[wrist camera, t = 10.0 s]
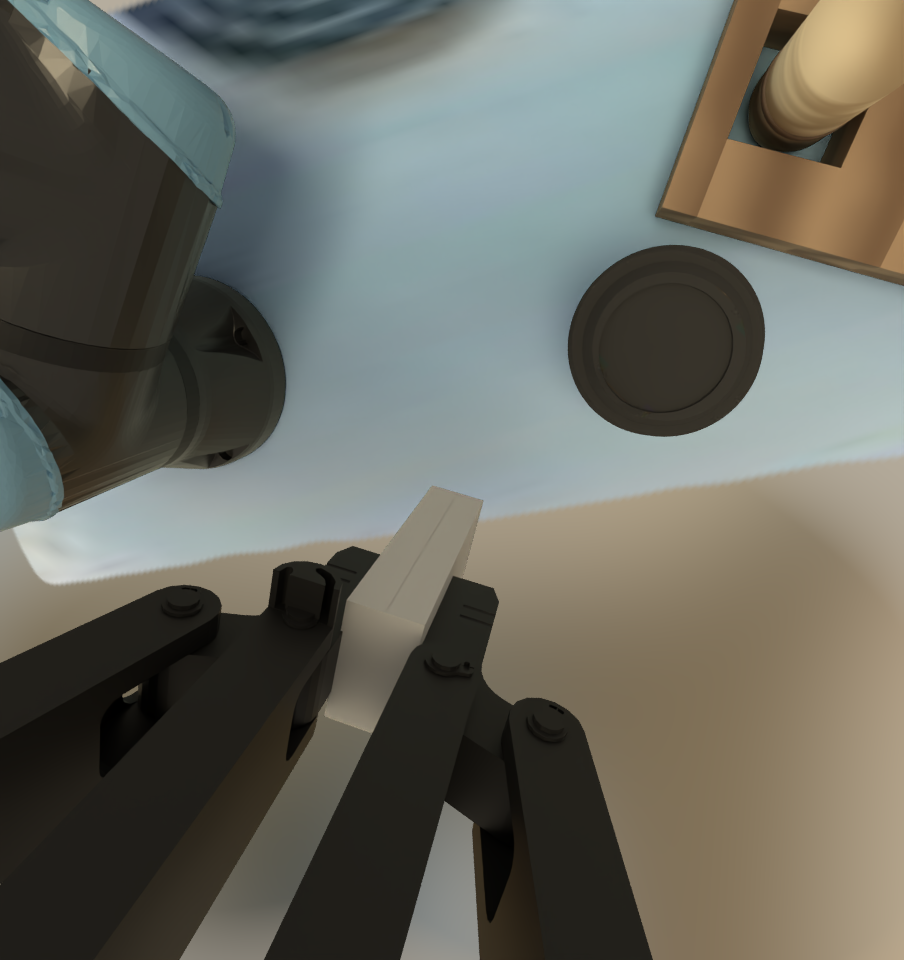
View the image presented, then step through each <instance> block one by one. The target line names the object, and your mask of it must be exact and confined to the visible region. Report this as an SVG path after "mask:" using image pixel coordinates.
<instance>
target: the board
mask: <svg viewBox="0 0 904 960" xmlns="http://www.w3.org/2000/svg"><path fill="white" fill-rule="evenodd" d="M819 1H820V0H734V2H733V5H732V7H731V10H730V13H729V15H728V18H727V21H726V24H725V26H724V29H723V32H722V35H721V37H720V40H719V43H718V46H717V48H716V51H715V54H714V56H713V59H712V62H711V65H710V67H709V70H708V73H707V76H706V78H705V81H704V84H703V87H702V89H701V92H700V95H699V98H698V100H697V103H696V106H695V108H694V111H693V114H692V117H691V119H690V122H689V125H688V128H687V130H686V133H685V136H684V139H683V141H682V144H681V147H680V150H679V152H678V155H677V158H676V160H675V163H674V166H673V169H672V171H671V174H670V177H669V180H668V182H667V185H666V188H665V191H664V193H663V196H662V199H661V201H660V204H659V207H658V210H657V212H656V215H655V216H656V217H659V218H663V219H666V220H670V221H673V222H677V223H681V224H684V225H688V226H691V227H695V228H698V229H702V230H706V231H709V232H713V233H716V234H720V235H724V236H727V237H731V238H734V239H738V240H741V241H745V242H749V243H752V244H756V245H759V246H763V247H766V248H770V249H774V250H777V251H781V252H784V253H788V254H791V255H795V256H799V257H802V258H806V259H809V260H813V261H817V262H820V263H824V264H827V265H831V266H834V267H838V268H842V269H845V270H849V271H852V272H856V273H859V274H863V275H867V276H870V277H874V278H877V279H881V280H884V281H888V282H892V283H895V284H899V285H902V286H904V84H902V85H901V86H900V87H899V88H897V89H896V90H894V91H893V92H891V93H890V94H888V95H887V96H885V97H884V98H882V99H881V100H879V101H878V102H876V103H875V104H873V105H872V106H870V107H869V108H867V109H866V110H864V111H863V112H861V113H860V114H858V115H857V116H855V117H854V118H852V119H851V120H850V121H849V122H847V123H846V124H845V125H844V126H842V127H841V128H839V129H837V130H836V131H834V132H833V134H832V137H831V139H830V141H829V143H828V146H827V148H826V150H825V152H824V155H823V157H822V159H821V161H820V163H819V162H815V161H811V160H808V159H804V158H800V157H796V156H792V155H788V154H784V153H781V152H777V151H773V150H769V149H765V148H761V147H757V146H754V145H750V144H746V143H742V142H738V141H734V140H730V139H727V138H728V136H729V133H730V131H731V128H732V126H733V123H734V120H735V118H736V115H737V113H738V110H739V108H740V105H741V102H742V100H743V97H744V95H745V92H746V90H747V87H748V84H749V82H750V79H751V77H752V74H753V72H754V69H755V66H756V64H757V61H758V59H759V56H760V54H761V51H762V48H763V46H764V47H768V48H772V49H776V50H781V49H782V48H783V47H784V46H785V45H786V44H787V43H788V41H789V40H790V39H791V37H792V36H793V35H794V33H795V32H796V31H797V30H798V28H799V27H800V26H801V24H802V23H803V22H804V20H805V19H806V18H807V16H808V15H809V14H810V12H811V11H812V10H813V9H814V7H815V6H816V5H817V3H818V2H819Z"/></svg>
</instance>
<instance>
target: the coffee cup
mask: <svg viewBox="0 0 904 960" xmlns="http://www.w3.org/2000/svg"><path fill="white" fill-rule="evenodd" d="M764 341H765V325H764V317H763V312H762V309H761V305H760V302H759V300H758V297H757V295H756V293H755V291H754V289H753V288H752V286H751V285H750V283H749V282H748V280H747V279H746V278H745V277H744V275H743V274H742V273H741V272H740V271H739V270H738V269H737V268H736V267H734V266H733V265H732V264H731V263H729V262H728V261H726V260H725V259H723V258H722V257H720V256H718V255H716V254H714V253H712V252H709V251H706V250H703V249H700V248H696V247H691V246H683V245H665V246H657V247H652V248H648V249H644V250H641V251H638V252H636V253H633V254H631V255H629V256H627V257H625V258H623V259H621V260H619V261H618V262H616V263H615V264H613V265H612V266H610V267H609V268H608V269H607V270H605V271H604V272H603V273H602V274H601V275H600V276H599V277H598V278H597V279H596V280H595V281H594V282H593V283H592V284H591V286H590V287H589V288H588V290H587V291H586V292H585V294H584V295H583V297H582V299H581V301H580V302H579V304H578V306H577V309H576V311H575V313H574V316H573V319H572V322H571V326H570V331H569V337H568V359H569V365H570V370H571V373H572V376H573V379H574V382H575V384H576V386H577V388H578V390H579V392H580V394H581V395H582V397H583V398H584V400H585V401H586V402H587V403H588V405H589V406H590V407H591V408H592V409H593V410H594V411H595V412H596V413H597V414H598V415H600V416H601V417H602V418H604V419H605V420H606V421H608V422H610V423H611V424H613V425H615V426H617V427H619V428H621V429H624V430H626V431H630V432H633V433H637V434H642V435H650V436H662V437H667V436H678V435H684V434H689V433H692V432H696V431H698V430H701V429H703V428H706V427H708V426H710V425H712V424H714V423H715V422H717V421H719V420H720V419H722V418H723V417H724V416H726V415H727V414H728V413H729V412H731V411H732V410H733V409H734V408H735V407H736V406H737V405H738V404H739V403H740V402H741V400H742V399H743V398H744V397H745V395H746V394H747V392H748V391H749V389H750V388H751V386H752V384H753V382H754V380H755V378H756V376H757V373H758V370H759V367H760V364H761V360H762V355H763V349H764Z"/></svg>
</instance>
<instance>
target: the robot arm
mask: <svg viewBox="0 0 904 960" xmlns="http://www.w3.org/2000/svg"><path fill="white" fill-rule="evenodd" d="M235 137H236V132H235V125H234V121H233V118H232V115H231V113H230V111H229V109H228V107H227V106H226V104H225V103H224V101H223V100H222V99H221V98H220V97H219V96H218V95H217V94H216V93H215V92H214V91H213V90H211V89H210V88H209V87H208V86H206V85H205V84H204V83H202V82H201V81H200V80H198V79H197V78H196V77H194V76H193V75H192V74H190V73H189V72H188V71H186V70H185V69H184V68H182V67H181V66H179V65H178V64H177V63H175V62H174V61H173V60H171V59H170V58H168V57H167V56H166V55H164V54H163V53H162V52H160V51H159V50H157V49H156V48H155V47H153V46H152V45H150V44H149V43H148V42H146V41H145V40H144V39H142V38H141V37H139V36H138V35H137V34H135V33H134V32H132V31H131V30H130V29H128V28H127V27H125V26H124V25H123V24H121V23H120V22H118V21H117V20H115V19H114V18H113V17H111V16H110V15H108V14H107V13H106V12H104V11H103V10H101V9H100V8H99V7H97V6H96V5H94V4H93V3H91V2H90V1H89V0H0V532H1V531H4V530H7V529H10V528H13V527H16V526H19V525H22V524H25V523H28V522H31V521H43V520H46V519H49V518H51V517H53V516H54V515H56V513H58V512H60V511H62V510H64V509H67V508H69V507H71V506H74V505H76V504H78V503H81V502H83V501H85V500H87V499H90V498H92V497H94V496H97V495H99V494H101V493H104V492H106V491H108V490H111V489H113V488H115V487H117V486H120V485H122V484H124V483H127V482H129V481H131V480H134V479H136V478H138V477H140V476H143V475H145V474H147V473H150V472H152V471H154V470H157V469H159V468H186V469H209V468H215V467H220V466H224V465H227V464H229V463H232V462H234V461H236V460H238V459H240V458H242V457H244V456H246V455H248V454H250V453H252V452H253V451H255V450H256V449H257V448H259V447H260V446H261V445H262V444H263V443H264V442H265V441H266V440H267V438H268V437H269V436H270V434H271V433H272V432H273V430H274V428H275V426H276V424H277V422H278V420H279V417H280V415H281V412H282V408H283V404H284V397H285V372H284V365H283V360H282V356H281V353H280V350H279V347H278V344H277V342H276V339H275V337H274V335H273V333H272V331H271V329H270V328H269V326H268V324H267V323H266V321H265V320H264V318H263V317H262V316H261V314H260V313H259V312H258V311H257V309H256V308H255V307H254V306H253V305H252V304H251V303H250V302H249V301H248V300H247V299H246V298H245V297H243V296H242V295H241V294H239V293H238V292H237V291H235V290H234V289H232V288H231V287H229V286H227V285H225V284H223V283H221V282H219V281H216V280H213V279H210V278H206V277H202V276H194V273H195V270H196V267H197V264H198V262H199V259H200V256H201V253H202V250H203V247H204V244H205V242H206V239H207V236H208V233H209V230H210V227H211V224H212V221H213V219H214V216H215V213H216V210H217V207H218V208H221V206H222V203H223V202H222V196H221V191H222V187H223V184H224V180H225V177H226V173H227V170H228V166H229V163H230V159H231V156H232V152H233V149H234V145H235ZM482 504H483V500H480V499H476V498H473V497H469V496H466V495H463V494H459V493H456V492H452V491H449V490H446V489H442V488H439V487H435V486H432V487H431V488H430V489H429V491H428V492H427V493H426V495H425V496H424V497H423V499H422V500H421V501H420V503H419V504H418V505H417V507H416V508H415V509H414V511H413V512H412V513H411V515H410V516H409V517H408V519H407V520H406V521H405V523H404V524H403V525H402V527H401V528H400V529H399V531H398V532H397V533H396V535H395V536H394V537H393V539H392V540H391V541H390V543H389V544H388V545H387V547H386V548H385V549H384V551H383V552H382V554H381V555H380V554H377V553H373V552H370V551H367V550H364V549H361V548H358V547H354V546H352V547H350V548H347V549H344V550H342V551H340V552H337V553H336V554H335V555H334V556H333V557H332V558H331V559H330V560H329V561H328V563H327V565H325V566H324V565H322V564H318V563H313V562H305V561H303V562H302V561H301V562H299V561H296V562H295V561H294V562H290V563H285V564H282V565H280V566H278V567H277V568H275V569H273V576H272V583H271V591H270V598H269V605H268V608H266V609H265V611H264V612H263V613H262V614H261V615H257V616H251V615H237V614H228V613H221V607H222V605H221V602H220V599H219V597H217V595H215V594H214V593H213V592H212V591H210V590H207V589H204V588H201V587H197V586H191V585H180V586H170V587H166V588H163V589H160V590H157V591H155V592H153V593H151V594H148V595H146V596H144V597H142V598H140V599H137V600H135V601H133V602H131V603H129V604H127V605H125V606H123V607H120V608H118V609H116V610H114V611H112V612H110V613H107V614H105V615H103V616H101V617H99V618H96V619H94V620H92V621H90V622H88V623H86V624H84V625H81V626H79V627H77V628H75V629H73V630H71V631H68V632H66V633H64V634H62V635H60V636H58V637H55V638H53V639H51V640H49V641H47V642H45V643H42V644H40V645H38V646H36V647H34V648H32V649H30V650H27V651H25V652H23V653H21V654H19V655H17V656H15V657H12V658H10V659H8V660H6V661H4V662H1V663H0V960H179V959H180V958H181V956H182V954H183V953H184V951H185V949H186V948H187V946H188V944H189V943H190V941H191V939H192V938H193V936H194V934H195V933H196V930H197V929H198V927H199V926H200V924H201V922H202V921H203V919H204V917H205V916H206V914H207V912H208V911H209V909H210V907H211V906H212V904H213V902H214V901H215V899H216V897H217V896H218V894H219V892H220V891H221V889H222V887H223V885H224V884H225V882H226V880H227V879H228V877H229V875H230V874H231V872H232V870H233V869H234V867H235V865H236V864H237V862H238V860H239V859H240V857H241V855H242V854H243V852H244V850H245V849H246V847H247V845H248V844H249V842H250V840H251V839H252V837H253V835H254V834H255V832H256V830H257V828H258V827H259V825H260V823H261V822H262V820H263V818H264V817H265V815H266V813H267V811H268V810H269V808H270V806H271V805H272V803H273V802H274V800H275V798H276V797H277V795H278V793H279V791H280V790H281V788H282V787H283V785H284V783H285V782H286V780H287V778H288V776H289V775H290V773H291V771H292V770H293V768H294V766H295V765H296V763H297V761H298V759H299V758H300V756H301V755H302V753H303V751H304V750H305V748H306V746H307V745H308V743H309V741H310V740H311V738H312V736H313V734H314V730H315V727H316V722H317V717H318V712H319V711H320V709H321V707H322V706H323V704H324V702H325V701H326V699H327V698H328V699H327V705H326V710H325V715H324V716H325V717H327V718H330V719H333V720H336V721H339V722H342V723H345V724H347V725H350V726H353V727H356V728H359V729H362V730H364V731H368V732H370V733H372V735H371V737H370V739H369V741H368V743H367V745H366V747H365V749H364V752H363V754H362V756H361V758H360V760H359V762H358V764H357V766H356V768H355V770H354V772H353V775H352V777H351V779H350V781H349V783H348V785H347V787H346V789H345V791H344V793H343V796H342V798H341V800H340V802H339V804H338V806H337V808H336V810H335V812H334V815H333V816H332V819H331V821H330V823H329V825H328V827H327V829H326V831H325V833H324V835H323V837H322V840H321V841H320V844H319V846H318V848H317V850H316V852H315V854H314V856H313V858H312V861H311V863H310V865H309V867H308V869H307V871H306V873H305V875H304V877H303V879H302V881H301V884H300V885H299V888H298V890H297V892H296V894H295V896H294V898H293V900H292V902H291V904H290V906H289V908H288V911H287V913H286V915H285V917H284V919H283V921H282V923H281V925H280V927H279V930H278V931H277V934H276V936H275V938H274V940H273V942H272V944H271V946H270V948H269V950H268V953H267V954H266V957H265V959H264V960H400V958H401V955H402V951H403V948H404V944H405V940H406V937H407V933H408V930H409V926H410V923H411V919H412V915H413V912H414V908H415V905H416V901H417V897H418V894H419V890H420V887H421V883H422V879H423V876H424V872H425V868H426V865H427V861H428V857H429V854H430V851H431V847H432V844H433V840H434V836H435V832H436V829H437V826H438V822H439V818H440V815H441V811H442V807H443V804H444V801H445V802H447V803H448V804H450V805H451V806H452V807H454V808H455V809H456V810H458V811H459V812H461V813H462V814H463V815H465V816H466V817H468V818H469V819H470V820H472V821H473V822H474V824H473V829H472V836H473V853H474V867H475V868H474V869H475V886H476V903H477V920H478V937H479V953H480V960H653V959H652V955H651V952H650V949H649V946H648V942H647V939H646V936H645V932H644V929H643V925H642V922H641V919H640V915H639V912H638V909H637V905H636V902H635V899H634V895H633V892H632V889H631V886H630V882H629V879H628V875H627V872H626V869H625V865H624V862H623V859H622V855H621V852H620V849H619V845H618V842H617V839H616V836H615V832H614V829H613V825H612V822H611V819H610V816H609V812H608V809H607V805H606V802H605V799H604V795H603V792H602V789H601V785H600V782H599V779H598V775H597V772H596V769H595V765H594V762H593V759H592V755H591V752H590V749H589V745H588V742H587V739H586V735H585V732H584V730H583V728H582V726H581V724H580V722H579V720H578V719H577V718H575V716H574V715H573V714H571V713H570V712H569V711H568V710H567V709H565V708H564V707H562V706H560V705H558V704H557V703H555V702H552V701H549V700H545V699H542V698H526V699H523V700H520V701H517V702H516V703H515V704H514V705H511V704H510V703H508V702H506V701H505V700H503V699H502V698H501V697H499V696H498V695H496V694H495V693H494V692H493V691H492V690H491V689H490V688H489V687H488V685H487V684H486V682H485V680H484V679H483V675H482V672H481V668H482V662H483V658H484V655H485V651H486V647H487V643H488V640H489V636H490V633H491V629H492V626H493V622H494V618H495V615H496V611H497V607H498V604H499V601H498V599H497V596H496V593H495V591H494V588H491V587H487V586H484V585H481V584H478V583H475V582H471V581H468V580H465V579H463V575H464V571H465V567H466V563H467V560H468V556H469V552H470V549H471V545H472V541H473V537H474V534H475V530H476V526H477V522H478V519H479V515H480V511H481V508H482ZM137 685H138V691H136V692H135V693H133V694H132V695H130V696H127V697H124V698H123V697H122V695H123V694H124V693H126V692H127V691H129V690H131V689H132V688H134V687H136V686H137Z"/></svg>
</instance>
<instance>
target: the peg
mask: <svg viewBox="0 0 904 960" xmlns="http://www.w3.org/2000/svg"><path fill="white" fill-rule="evenodd" d="M902 84H904V0H820V1H819V2H818V3H817V5H816V6H815V7H814V9H813V10H812V11H811V12H810V14H809V15H808V16H807V18H806V19H805V20H804V22H803V23H802V24H801V26H800V27H799V28H798V30H797V31H796V32H795V33H794V35H793V36H792V37H791V39H790V40H789V41H788V43H787V44H786V45H785V46H784V47H783V48H782V49H781V50H780V52H779V53H778V54H777V56H776V57H775V58H774V60H773V61H772V62H771V64H770V66H769V67H768V69H767V70H766V72H765V73H764V74H763V76H762V77H761V78H760V80H759V81H758V83H757V84H756V86H755V88H754V90H753V93H752V96H751V99H750V104H749V128H750V132H751V134H752V136H753V138H754V139H755V141H756V142H757V143H758V144H759V145H761V146H762V147H764V148H766V149H769V150H773V151H781V152H792V151H798V150H802V149H804V148H807V147H809V146H811V145H813V144H815V143H816V142H818V141H819V140H821V139H822V138H824V137H825V136H827V135H829V134H831V133H833V132H834V131H836V130H837V129H839V128H841V127H842V126H844V125H845V124H846V123H847V122H849V121H850V120H851V119H852V118H854V117H855V116H857V115H858V114H860V113H861V112H863V111H864V110H866V109H867V108H869V107H870V106H872V105H873V104H875V103H876V102H878V101H879V100H881V99H882V98H884V97H885V96H887V95H888V94H890V93H891V92H893V91H894V90H896V89H897V88H899V87H900V86H901V85H902Z"/></svg>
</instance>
